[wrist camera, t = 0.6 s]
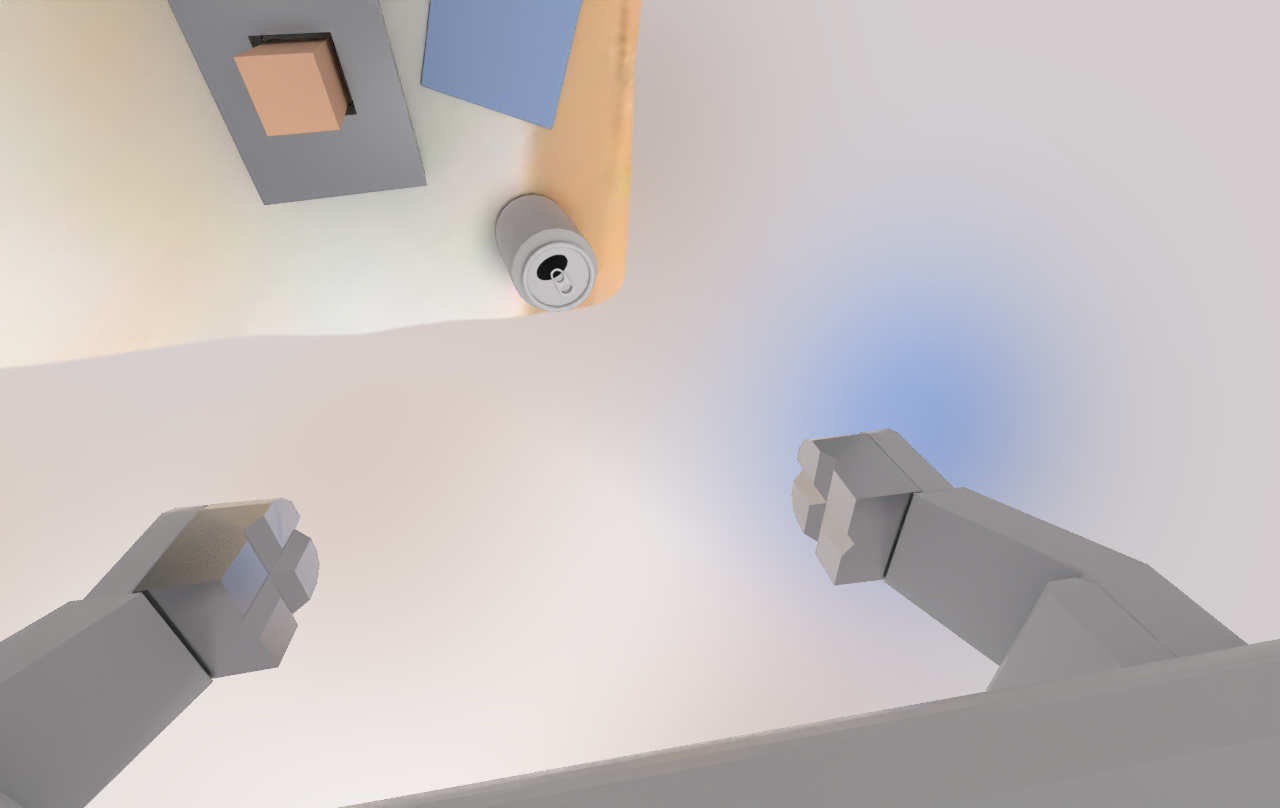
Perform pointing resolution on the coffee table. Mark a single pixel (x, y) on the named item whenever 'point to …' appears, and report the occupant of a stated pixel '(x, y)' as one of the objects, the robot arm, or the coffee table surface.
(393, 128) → the grey socket block
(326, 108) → the plug
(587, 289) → the can
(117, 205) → the coffee table surface
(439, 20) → the mat
